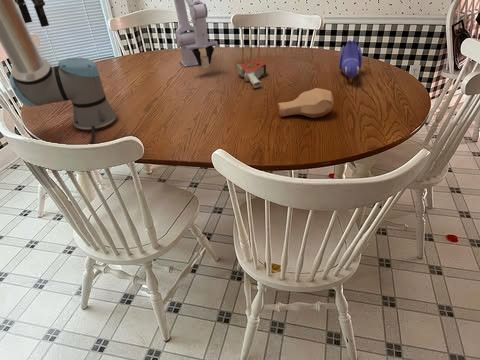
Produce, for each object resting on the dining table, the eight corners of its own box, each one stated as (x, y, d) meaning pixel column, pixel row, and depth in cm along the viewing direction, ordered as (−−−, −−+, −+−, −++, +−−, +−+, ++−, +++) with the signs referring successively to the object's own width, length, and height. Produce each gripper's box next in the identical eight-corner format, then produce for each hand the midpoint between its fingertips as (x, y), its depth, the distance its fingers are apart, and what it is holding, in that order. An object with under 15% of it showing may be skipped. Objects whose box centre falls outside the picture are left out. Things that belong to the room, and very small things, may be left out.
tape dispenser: (257, 93, 151) (279, 75, 164) (257, 81, 148) (279, 63, 160) (223, 84, 159) (246, 67, 171) (222, 73, 155) (246, 57, 168)
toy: (337, 76, 168) (339, 86, 146) (339, 39, 162) (341, 42, 139) (359, 76, 166) (364, 85, 144) (361, 37, 159) (367, 41, 137)
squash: (337, 118, 126) (338, 97, 119) (281, 128, 127) (279, 108, 121) (330, 101, 133) (330, 80, 127) (277, 111, 135) (275, 90, 128)
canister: (208, 65, 169) (207, 55, 166) (210, 68, 166) (209, 57, 163) (199, 66, 168) (198, 56, 166) (201, 69, 165) (200, 59, 162)
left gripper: (40, -41, 122) (62, 25, 134) (8, -41, 135) (31, 19, 147) (18, -38, 117) (43, 30, 130) (-12, -39, 130) (12, 23, 143)
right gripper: (188, 38, 153) (192, 69, 161) (219, 32, 158) (221, 63, 166) (183, 35, 158) (187, 65, 166) (213, 29, 163) (215, 59, 171)
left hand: (36, 24), depth 138 cm, fingers open, 13 cm apart
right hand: (204, 64), depth 166 cm, fingers closed on canister, 4 cm apart
